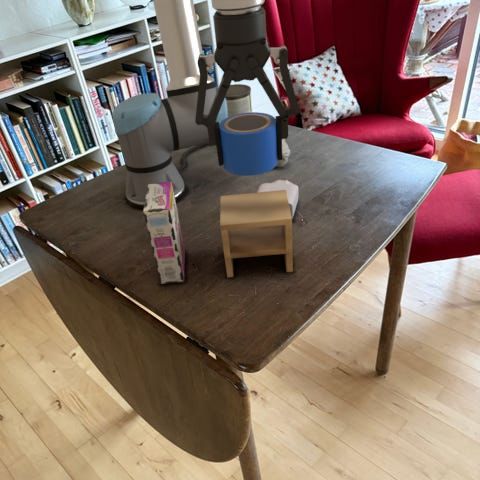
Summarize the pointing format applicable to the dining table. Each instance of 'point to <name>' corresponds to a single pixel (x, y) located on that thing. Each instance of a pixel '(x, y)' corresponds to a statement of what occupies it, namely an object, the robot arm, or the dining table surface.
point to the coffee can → (238, 99)
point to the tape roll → (249, 143)
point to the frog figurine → (284, 154)
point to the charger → (283, 185)
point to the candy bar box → (165, 232)
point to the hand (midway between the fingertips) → (250, 159)
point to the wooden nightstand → (256, 226)
